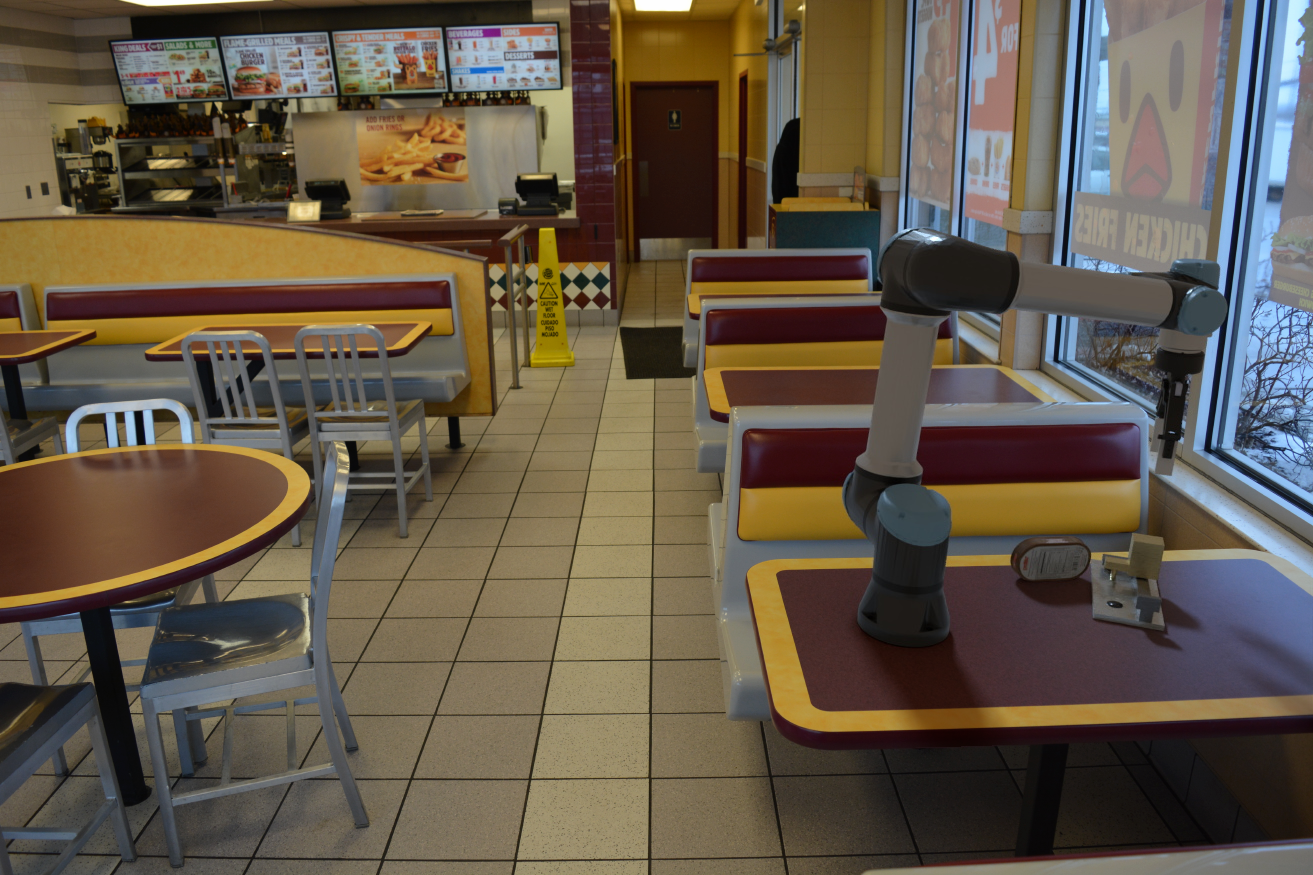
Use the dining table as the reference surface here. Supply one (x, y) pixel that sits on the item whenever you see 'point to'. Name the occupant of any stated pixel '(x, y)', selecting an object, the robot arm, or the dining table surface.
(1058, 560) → the tin
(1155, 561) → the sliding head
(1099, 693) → the dining table surface
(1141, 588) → the grey slide rail base
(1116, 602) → the bolt plate
